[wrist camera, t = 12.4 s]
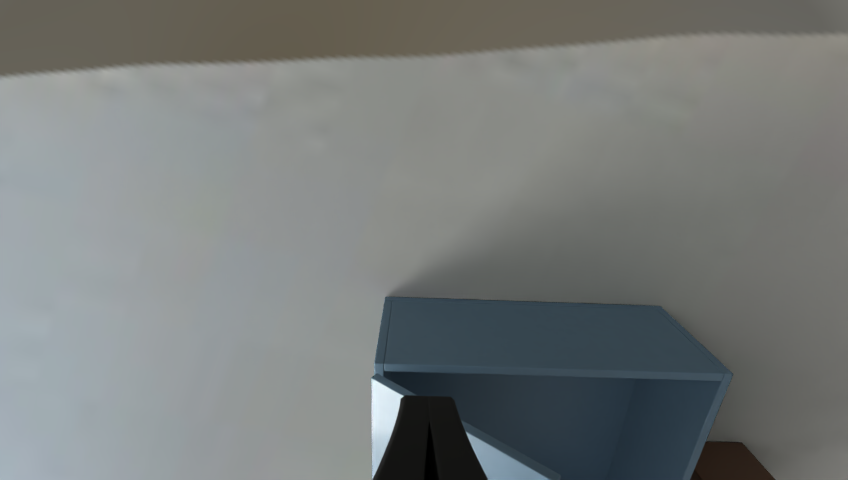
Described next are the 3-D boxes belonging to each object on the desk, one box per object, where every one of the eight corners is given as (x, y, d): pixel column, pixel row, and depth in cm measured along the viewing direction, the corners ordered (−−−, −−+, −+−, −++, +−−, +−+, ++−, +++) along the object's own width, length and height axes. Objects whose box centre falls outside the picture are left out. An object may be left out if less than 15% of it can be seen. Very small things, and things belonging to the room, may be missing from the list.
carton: (599, 505, 27) (640, 601, 22) (383, 500, 27) (375, 596, 22) (660, 305, 21) (734, 374, 16) (385, 296, 21) (374, 363, 16)
